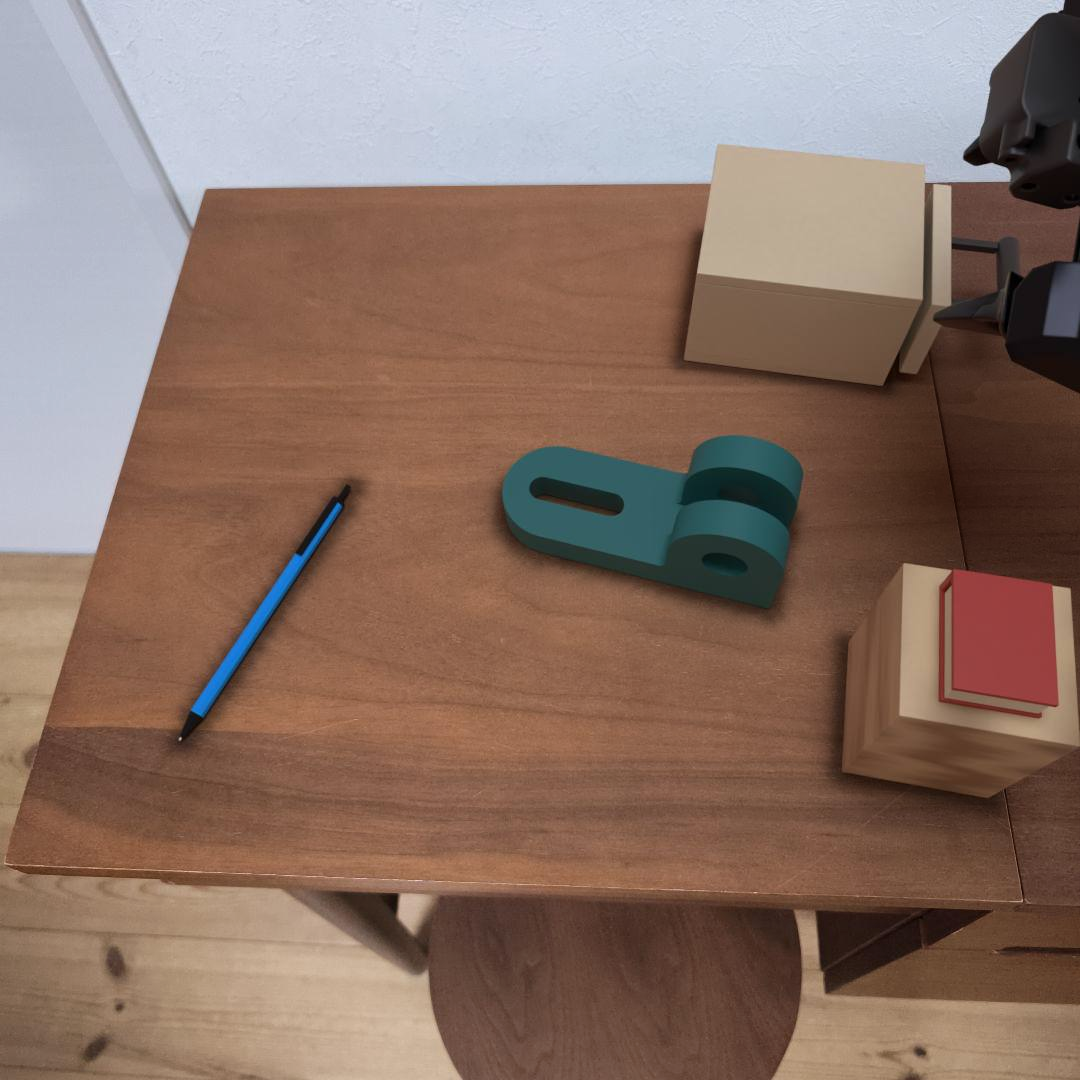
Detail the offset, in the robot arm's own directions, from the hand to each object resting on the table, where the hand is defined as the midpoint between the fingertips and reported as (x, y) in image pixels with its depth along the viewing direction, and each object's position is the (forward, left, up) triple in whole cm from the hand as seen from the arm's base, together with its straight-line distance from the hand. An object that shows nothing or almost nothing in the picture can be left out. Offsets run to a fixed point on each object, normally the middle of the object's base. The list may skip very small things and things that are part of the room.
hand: (953, 239), depth 50 cm
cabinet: (+6, -8, -16) cm, 19 cm away
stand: (-3, +21, -16) cm, 27 cm away
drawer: (+1, -9, -15) cm, 18 cm away
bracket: (+14, +11, -16) cm, 25 cm away
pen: (+36, +21, -16) cm, 45 cm away
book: (-3, +21, -5) cm, 22 cm away
